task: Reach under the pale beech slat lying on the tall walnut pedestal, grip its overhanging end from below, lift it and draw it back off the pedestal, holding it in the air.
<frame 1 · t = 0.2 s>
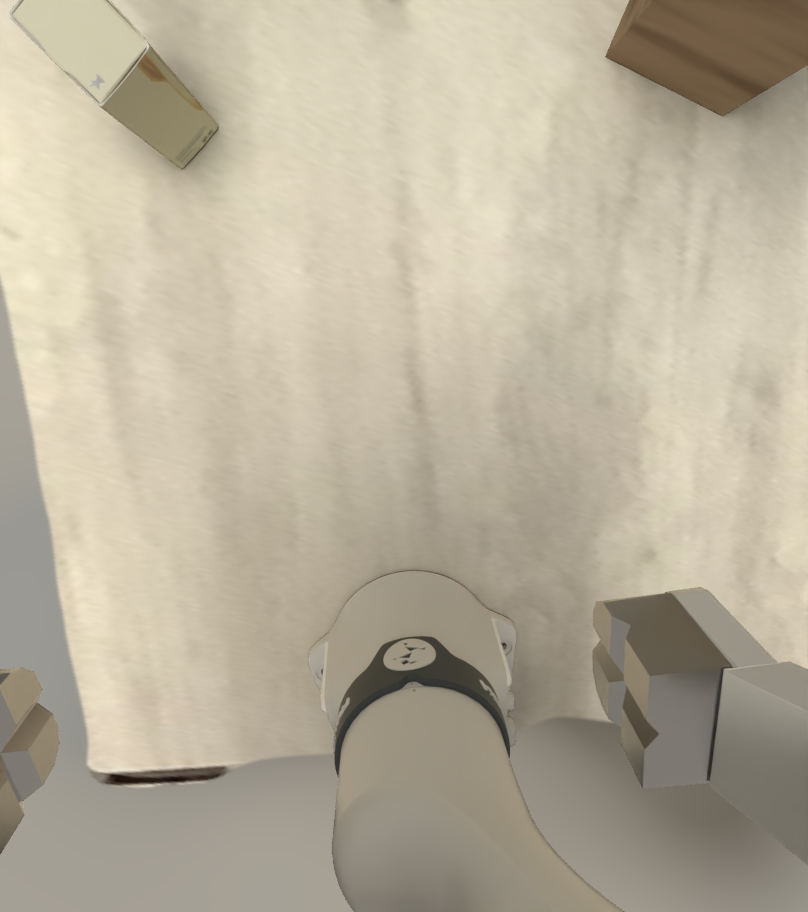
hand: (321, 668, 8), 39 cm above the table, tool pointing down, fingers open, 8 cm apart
skincare box: (168, 116, 42), on the table
pedestal: (690, 30, 41), on the table
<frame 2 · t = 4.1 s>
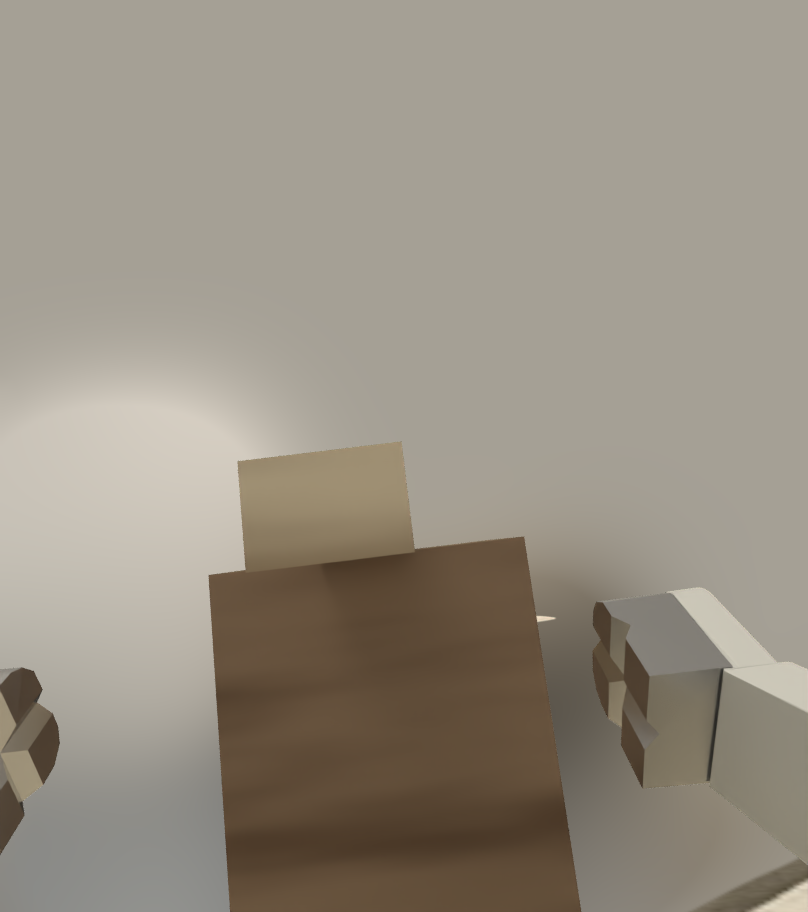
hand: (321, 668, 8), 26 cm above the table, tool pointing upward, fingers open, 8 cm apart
slat: (370, 555, 19), point 27 cm above the table, touching pedestal
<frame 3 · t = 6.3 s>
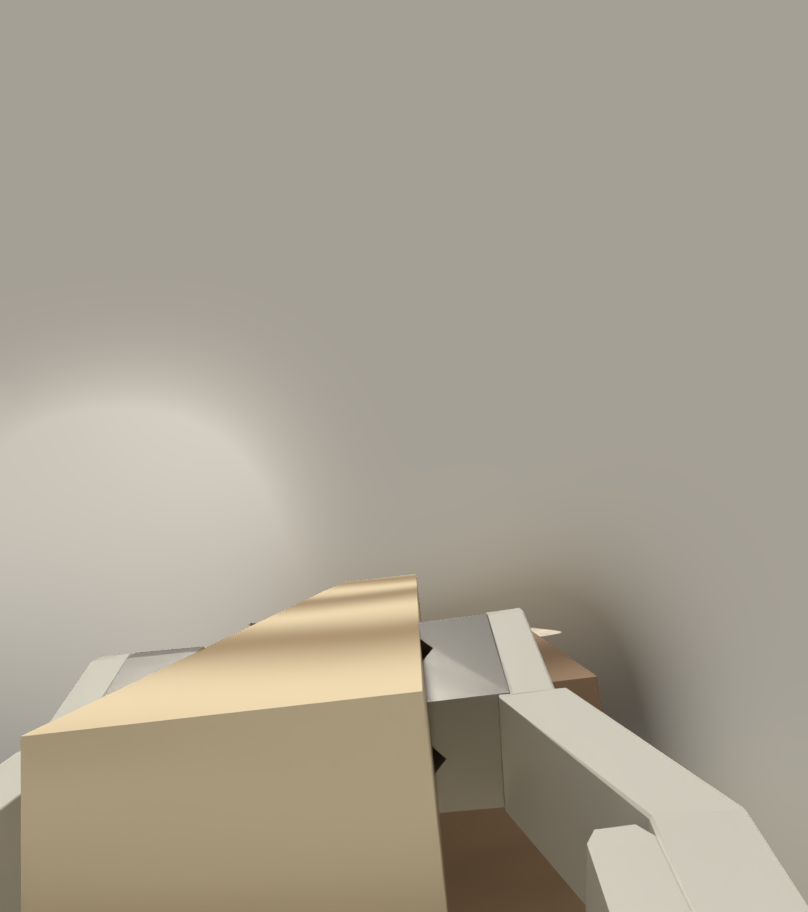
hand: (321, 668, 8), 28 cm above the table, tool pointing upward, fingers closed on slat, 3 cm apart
slat: (363, 687, 13), point 27 cm above the table, touching gripper, pedestal
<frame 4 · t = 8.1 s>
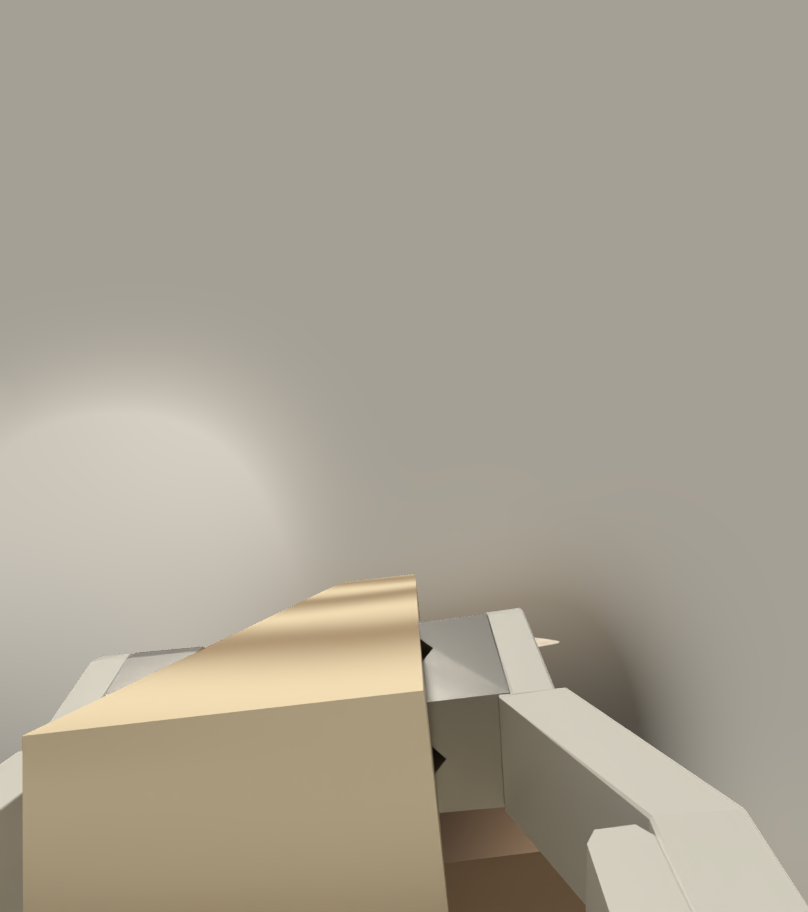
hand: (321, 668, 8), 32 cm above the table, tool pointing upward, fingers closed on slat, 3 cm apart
slat: (362, 687, 13), point 30 cm above the table, touching gripper
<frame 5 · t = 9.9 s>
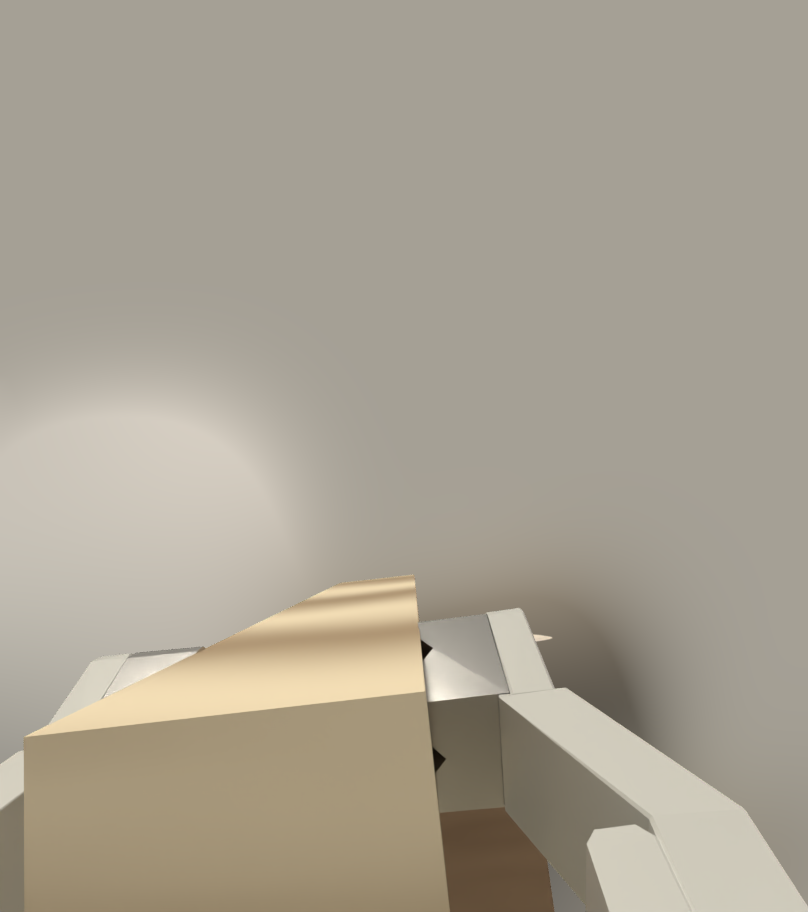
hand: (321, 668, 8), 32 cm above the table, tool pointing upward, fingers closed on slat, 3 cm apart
slat: (361, 687, 13), point 30 cm above the table, touching gripper
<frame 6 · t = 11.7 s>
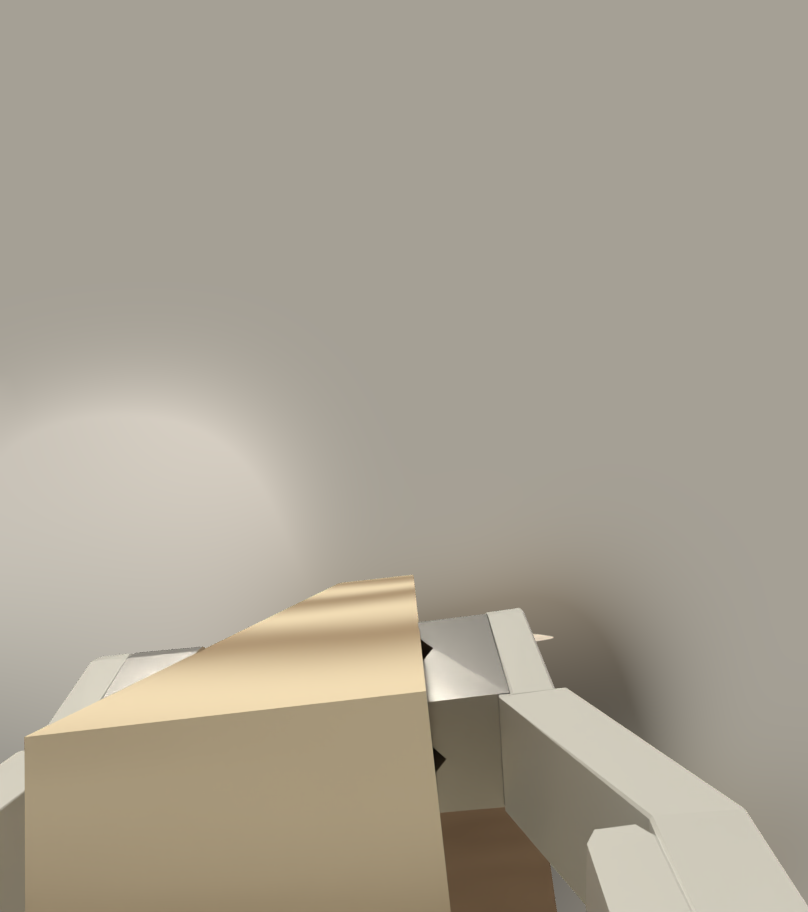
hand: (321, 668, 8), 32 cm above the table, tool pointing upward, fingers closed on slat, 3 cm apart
slat: (361, 687, 13), point 30 cm above the table, touching gripper
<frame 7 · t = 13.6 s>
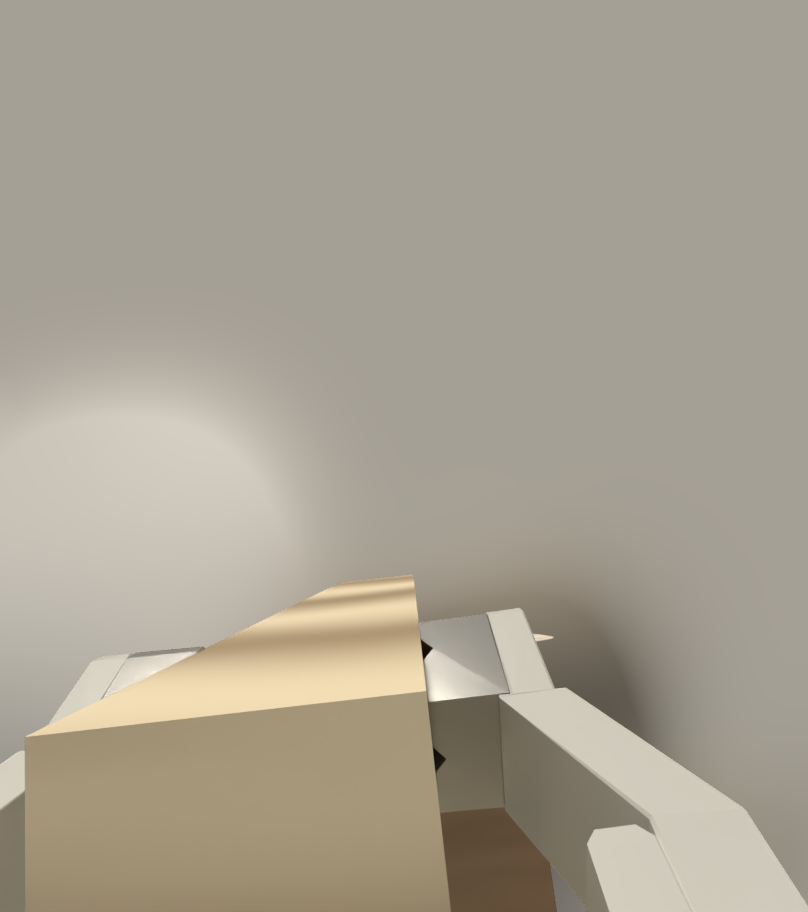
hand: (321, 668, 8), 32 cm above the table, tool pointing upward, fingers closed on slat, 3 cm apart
slat: (361, 687, 13), point 30 cm above the table, touching gripper
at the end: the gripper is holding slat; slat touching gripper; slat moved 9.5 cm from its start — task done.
